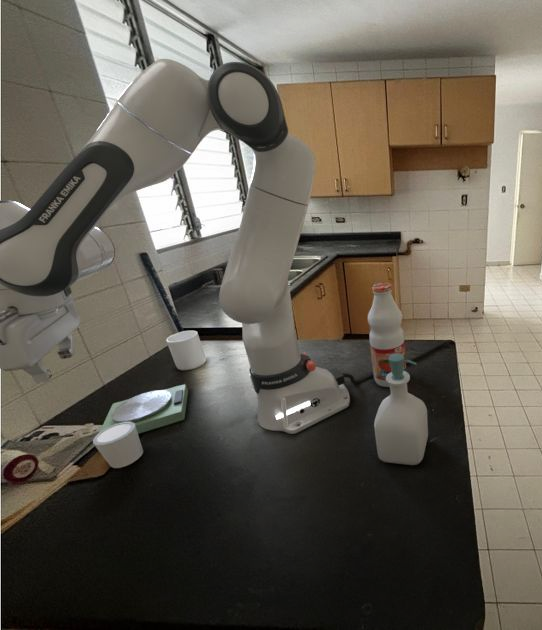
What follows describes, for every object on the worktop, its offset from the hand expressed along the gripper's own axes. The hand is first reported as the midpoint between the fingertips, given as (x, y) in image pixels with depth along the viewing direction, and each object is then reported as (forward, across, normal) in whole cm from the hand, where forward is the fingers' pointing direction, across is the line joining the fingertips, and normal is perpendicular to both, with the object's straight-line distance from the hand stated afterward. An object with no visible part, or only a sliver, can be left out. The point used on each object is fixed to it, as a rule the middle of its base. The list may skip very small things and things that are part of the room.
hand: (56, 367), depth 63 cm
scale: (+22, +13, -6) cm, 27 cm away
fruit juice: (+19, -2, -67) cm, 69 cm away
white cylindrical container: (+23, -2, -6) cm, 23 cm away
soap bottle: (+20, -28, -59) cm, 69 cm away
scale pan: (+20, +13, -6) cm, 24 cm away
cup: (+22, +39, -12) cm, 47 cm away
